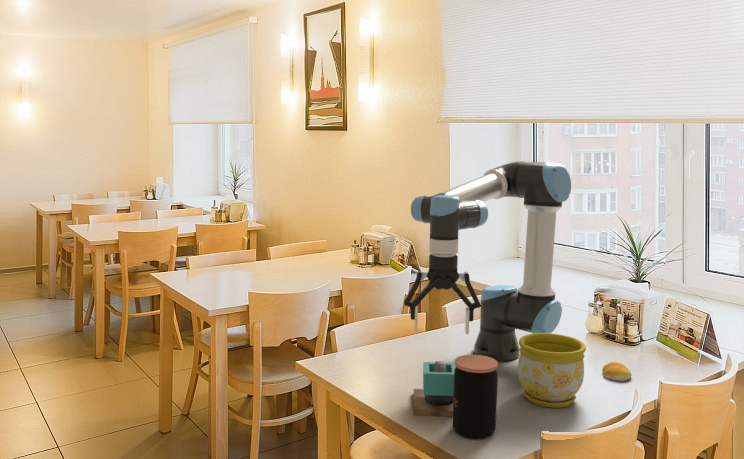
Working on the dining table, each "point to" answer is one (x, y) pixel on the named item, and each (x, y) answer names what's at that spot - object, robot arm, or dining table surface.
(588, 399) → the dining table surface
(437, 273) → the robot arm
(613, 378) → the bread roll
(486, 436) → the coffee jar
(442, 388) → the collar
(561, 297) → the dining table surface
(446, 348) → the dining table surface
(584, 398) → the dining table surface
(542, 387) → the flowerpot
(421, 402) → the post stand
